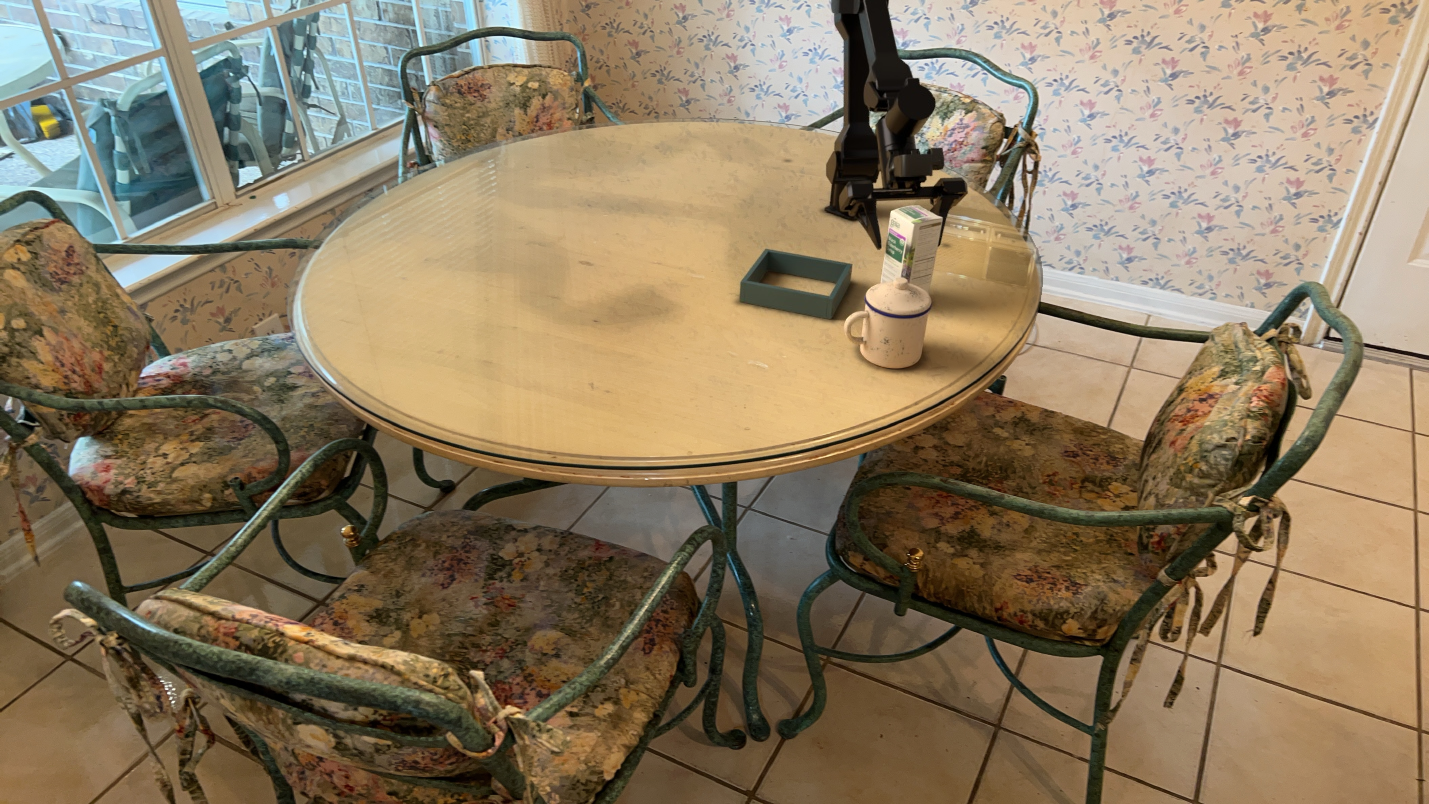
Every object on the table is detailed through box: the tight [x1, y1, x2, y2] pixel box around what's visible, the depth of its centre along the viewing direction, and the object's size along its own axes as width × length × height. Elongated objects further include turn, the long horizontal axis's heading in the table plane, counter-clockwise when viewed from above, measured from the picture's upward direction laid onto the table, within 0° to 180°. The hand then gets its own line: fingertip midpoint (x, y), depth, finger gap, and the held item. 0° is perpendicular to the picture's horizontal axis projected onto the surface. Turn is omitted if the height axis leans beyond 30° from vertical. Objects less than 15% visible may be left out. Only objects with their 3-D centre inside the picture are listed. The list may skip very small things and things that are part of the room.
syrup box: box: [879, 204, 943, 296], centre depth 137 cm, size 6×6×14 cm
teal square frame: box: [739, 248, 853, 320], centre depth 142 cm, size 13×15×4 cm
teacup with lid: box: [843, 277, 933, 369], centre depth 125 cm, size 12×9×12 cm
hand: (908, 247), depth 137 cm, fingers open, 9 cm apart
